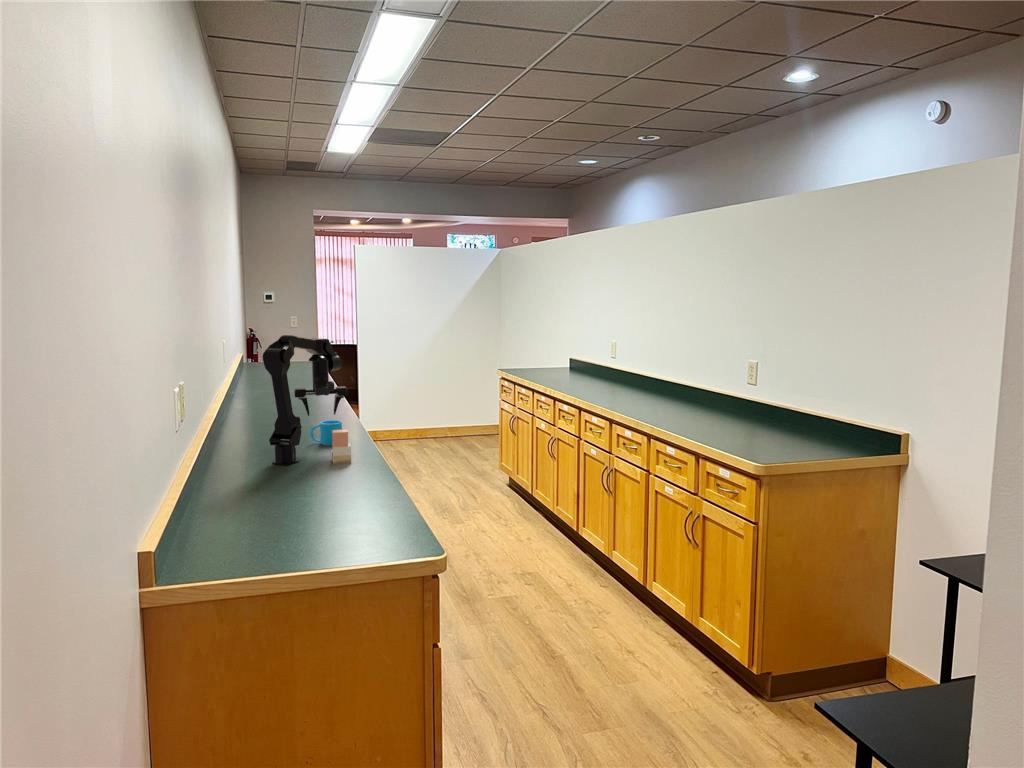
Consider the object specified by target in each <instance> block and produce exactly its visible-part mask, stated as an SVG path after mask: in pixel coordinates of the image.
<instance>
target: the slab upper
mask: <svg viewBox="0 0 1024 768" xmlns="http://www.w3.org/2000/svg"><path fill="white" fill-rule="evenodd" d="M331 447H332V452H333V456H342V455H351V456H352V445H351V442H348V446H346V447H333V444H332V445H331Z"/></svg>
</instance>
